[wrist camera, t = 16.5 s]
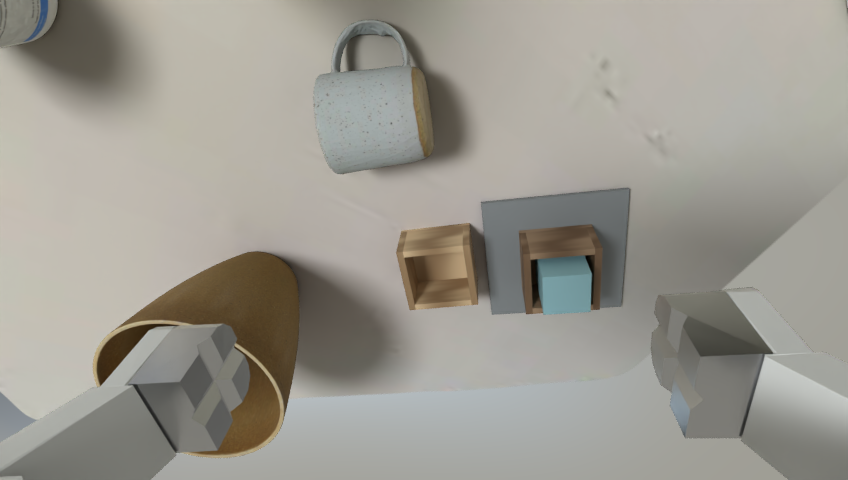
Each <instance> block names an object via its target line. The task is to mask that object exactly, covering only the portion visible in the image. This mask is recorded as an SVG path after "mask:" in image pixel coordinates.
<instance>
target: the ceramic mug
mask: <svg viewBox="0 0 848 480" xmlns="http://www.w3.org/2000/svg"><path fill="white" fill-rule="evenodd" d="M359 34H379V35H381V36H385V35H386V34H388V35H391V36H393V37H394V39H395V40H396V41H397V42H398V43H399V44H400V48H401V51H402V55H403V61H404V62H403V65H402V66H393V67H385V68H379V69H370V70H359V71H346V72H340V63H341V57H342V54H343V50H344V48H345V46H346V44H347V42H348V41H349V40H350V39H351V38H352V37H354V36H356V35H359ZM331 70H332V71H331V72H330V73H328V74H322V75H319V76H318V78H317V79H316V82H315V86H314V97H313V100H314V114H315V122H316V128H317V133H318V137H319V142H320V145H321V148H322V151H323V154H324V157H325V159H326V162H327V164H328V165H329V167H330V168H331V169H332V170H333V171H334V172H335V173H337V174H345V173H351V172H356V171H361V170H368V169H375V168H380V167H386V166H391V165H398V164H405V163H410V162H415V161H418V160H421V159H424V158H426V157H428V156H430V155H431V153H432V151H433V149H434V136H433V126H432V117H431V109H430V102H429V96H428V90H427V85H426V80H425V76H424V74H423V73H422V71H421V70H419V69H418V68H416V67H411V65H410V57H409V53H408V50H407V47H406V45H405V42H404V40H403V38H402V37H401V35H400V34H399V33H398V31H397V30H396V29H394V28H393V27H392V26H391V25H389V24H387V23H385V22H383V21H378V20H361V21H358V22H355V23H352V24H350V25H349V26H348V27H346V28H345V30H344V31H343V32H342V33H341V35H340V36H339V38H338V40H337V42H336V43H335V47H334V51H333V55H332V65H331Z"/></svg>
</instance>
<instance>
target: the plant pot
mask: <svg viewBox="0 0 848 480" xmlns="http://www.w3.org/2000/svg"><path fill="white" fill-rule="evenodd" d="M205 324H226V325H228V326H231V328H232V330H233V332H234V334H235V335H236V337H237V341H236V343H235V346H234V348H235V349H236V350H238V351H239V352H241V353H242V354H243V355H245V358H246V360H247V362H248V365H249V371H250V381H249V388H248V391H247V394H246V396H245V398H244V400H243V402H242V403H241V404H240V405H238V406H237V407H236V408H235V409H233V410H232V411H231V416H232V419H233V422H232V424H231V426H230V428H229V430H228V432H227V434H226V435H225V437H224V439H223V441H222V443H221V445H220V447H219V449H218V450H217V451H200V452H182V453H184V454H189V455H194V456H200V457H209V458H228V457H229V458H230V457H237V456H243V455H246V454H249V453H252V452H255V451H257V450H259V449H261V448H262V447H264V446H265V445H267V444H268V443H270V442H271V441H272V440H273V439H274V437H275V436H276V435H277V434H278V432H279V430H280V428H281V426H282V424H283V420H284V416H285V412H286V408H287V403H288V399H289V394H290V389H291V384H292V379H293V374H294V368H295V361H296V354H297V346H298V335H299V295H298V285H297V280H296V277H295V274H294V273H293V271H292V270H291V268H290V267H289V266H288V265H287V264H286V263H285V262H283V261H282V260H281V259H279V258H278V257H276V256H273V255H271V254H268V253H263V252H248V253H244V254H241V255H239V256H236V257H234V258H231V259H228V260H226V261H223V262H221V263H219V264H217V265H215V266H213V267H211V268H208V269H206V270H204V271H202V272H201V273H199V274H197V275H195V276H193V277H191V278H189V279H188V280H186V281H184V282H182V283H181V284H179V285H177V286H176V287H174V288H173V289H171V290H169V291H168V292H166V293H165V294H163V295H162V296H160V297H159V298H157V299H156V300H154V301H153V302H152V303H150V304H149V305H147V306H146V307H144V308H143V309H142V310H140V311H139V312H138V313H136V314H135V315H134V316H132V317H131V318H130V319H128V320H127V321H125V322H124V323H123V324H121V325H120V326H119V327H118V328H116V329H115V330H114V331H112V332H111V333H110V334H109V335H107V336H106V337H105V338H104V339H103V340H102V342H101V343H100V344H99V346H98V348H97V350H96V352H95V356H94V360H93V374H94V379H95V382H96V385H97V387H100V386H101V385H102V384H103V383H104V382H105V381H106V379H107V378H108V377H109V376H110V375H111V374H112V373H113V371H114V370H115V369H116V368H117V367H118V366H119V364H120V363H121V362H122V361H123V360H124V359H125V357H126V356H127V355H128V354H129V353H130V352H131V351H132V349H133V348H134V347H135V346H136V345H137V344H138V342H139V341H140V340H141V339H142V338H143V337H144V336H145V334H146V333H147V332H148V331H149V330H151V329H154V328H156V327H166V326H181V325H205Z"/></svg>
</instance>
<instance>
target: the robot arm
mask: <svg viewBox="0 0 848 480" xmlns="http://www.w3.org/2000/svg"><path fill="white" fill-rule="evenodd" d="M847 6H848V0H847ZM654 314H655V316H656V318H657V320H658V322H659V324H660V325H659V326H658V327H657V328H656V329H655V330H654V331H653V332H652V338H651V354H652V361H653V366H654V369H655V373H656V375H657V377H658V380H659V382H660V384H661V386H663V387H664V388H666V389H667V390H669V391H670V392H672V395H671V402H670V406H671V409H672V411H673V413H674V415H675V417H676V420H677V422H678V424H679V426H680V428H681V430H682V432H683V435H684V437H685V438H742V439H741V441H742V442H743V443H744V444H746V445H747V446H748V447H749V448H751V449H752V450H753V451H754V452H755V453H757V454H758V455H759V456H760V457H761V458H763V459H764V460H765V461H766V462H768V463H769V464H770V465H771V466H772V467H774V468H775V469H776V470H777V471H778V472H780V473H781V474H782V475H783V476H784V477H786V478H787V479H788V480H848V363H847V362H845V361H843V360H840V359H838V358H836V357H834V356H832V355H830V354H828V353H826V352H813V351H812V350H811V348H810V347H809V346H808V345H807V344H806V343H805V342H804V341H803V339H802V338H801V337H800V336H799V335H798V334H797V333H796V332H795V331H794V329H793V328H792V327H791V326H790V325H789V324H788V323H787V321H786V320H785V319H784V318H783V317H782V316H781V315H780V314H779V313H778V311H777V310H776V309H775V308H774V307H773V306H772V305H771V304H770V302H769V301H768V300H767V299H766V298H765V297H764V296H763V295H762V293H761V292H760V291H759V290H757V289H755V288H752V287H748V288H737V289H727V290H720V291H711V292H697V293H683V294H669V295H659V296H658V298H657V300H656V304H655V311H654ZM236 341H237V337H236V335H235V334H234V332H233V330H232V328H231V326H228V325H226V324H205V325H181V326H166V327H156V328H154V329H151V330H149V331H148V332H147V333H146V334H145V336H144V337H143V338H142V339H141V340H140V341H139V342H138V344H137V345H136V346H135V347H134V348H133V349H132V351H131V352H130V353H129V354H128V355H127V356H126V357H125V359H124V360H123V361H122V362H121V363H120V364H119V366H118V367H117V368H116V369H115V370H114V371H113V373H112V374H111V375H110V376H109V377H108V378H107V379H106V381H105V382H104V383H103V384H102V385H101V386H100V387H92V388H91V389H89V390H87V391H86V392H84V393H82V394H81V395H79V396H77V397H76V398H74V399H72V400H71V401H69V402H67V403H66V404H64V405H62V406H61V407H59V408H57V409H56V410H54V411H52V412H51V413H49V414H47V415H46V416H44V417H42V418H41V419H39V420H37V421H36V422H34V423H32V424H31V425H29V426H27V427H26V428H24V429H22V430H21V431H19V432H17V433H16V434H14V435H12V436H11V437H9V438H7V439H6V440H4V441H2V442H0V480H151V479H152V478H153V477H154V476H155V475H156V474H157V473H158V472H159V471H160V470H161V469H162V468H163V467H164V466H165V465H166V464H168V463H169V462H170V461H171V460H172V459H173V458H174V457H175V456H176V453H182V452H200V451H217V450H218V449H219V447H220V445H221V443H222V441H223V439H224V437H225V435H226V434H227V432H228V430H229V428H230V426H231V424H232V422H233V419H232V416H231V411H232V410H233V409H235V408H236V407H237V406H238V405H240V404H241V403H242V402H243V400H244V398H245V396H246V394H247V391H248V388H249V381H250V371H249V365H248V362H247V360H246V358H245V355H243V354H242V353H241V352H239V351H238V350H236V349H235V348H234V346H235V343H236Z"/></svg>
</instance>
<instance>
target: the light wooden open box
mask: <svg viewBox="0 0 848 480" xmlns="http://www.w3.org/2000/svg"><path fill="white" fill-rule="evenodd" d="M396 254H397V258H398V262H399V267H400V271H401V275H402V279H403V283H404V288H405V292H406V296H407V300H408V305H409V309H410V310H418V309H430V308H441V307H453V306H465V305H476V304H478V280H477V273H476V266H475V259H474V252H473V245H472V238H471V231H470V224H469V223H466V224H457V225H448V226H439V227H431V228H422V229H413V230H404V231H401V235H400V239H399V243H398V247H397V252H396Z"/></svg>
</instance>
